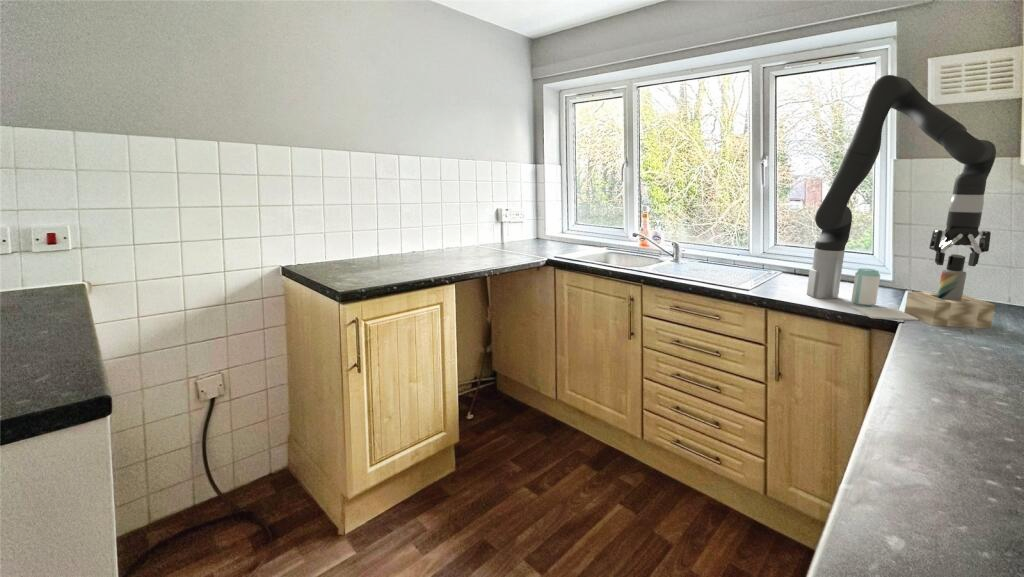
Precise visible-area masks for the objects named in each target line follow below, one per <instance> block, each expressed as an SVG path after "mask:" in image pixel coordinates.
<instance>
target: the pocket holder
mask: <svg viewBox="0 0 1024 577" xmlns="http://www.w3.org/2000/svg"><path fill="white" fill-rule="evenodd" d="M937 295H938V292H929V291H907V295H906V301H905V308H904V311H903V312H904V313H907V314H909V315H911V316H913V317H915V318H918V319H919V320H920V321H921V322H924V323H926V324H929V325H931V326H936V327H937V326H938V327H939V326H941V327H957V328H959V327H960V328H976V329H978V328H979V329H991V327H992V323H993V318H994V314H995V310H996V304H994V303H991V302H987V301H984V300H982V299H979V298H976V297H973V296H970V295H966V294H963V295H962V300H961V301H958V300H942V299H939V298H937Z"/></svg>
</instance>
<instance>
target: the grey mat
mask: <svg viewBox="0 0 1024 577" xmlns="http://www.w3.org/2000/svg"><path fill="white" fill-rule="evenodd" d="M852 309H853V310H855V311H857V312H859V313H860V314H863V315H864V316H867V317H868V318H870V319H876V320H877V319H879V320H895V319H900V320H901V321H919V319H918V318H915V317H913V316H911V315H909V314H907V313H904V312H905V311H902V310H899V309H897V308H886V307H885V308H884V307H868V306H852ZM885 318H886V319H885ZM900 320H899V321H900Z"/></svg>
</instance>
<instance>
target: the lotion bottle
mask: <svg viewBox="0 0 1024 577" xmlns="http://www.w3.org/2000/svg"><path fill="white" fill-rule="evenodd" d="M965 262H966V256H965V255H962V254H953V253H952V254H950V255H948V259H947V263H946V269H943V270H942V271H941V274H940V278H939V285H938V291H937V293H938V295H937V298H939V299H942V300H958V301H961V300H962V295H963V293H964V289H965V285H966V284H965V283H966V280H967V279H966V278H967V271H964V266H965Z"/></svg>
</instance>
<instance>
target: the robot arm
mask: <svg viewBox="0 0 1024 577" xmlns="http://www.w3.org/2000/svg"><path fill="white" fill-rule="evenodd" d="M865 101H866V102H865V104H864V107H863V110H862V113H861V117H860V119H859V121H858V124H857V125H856V128H855V130H854V132H853V135H852V136H851V140H850V141H849V144H848V146H847V148H846V150H845V152H844V155H843V157H842V160H841V161H840V163H839V167H838V169H837V171H836V174H835V176H834V178H833V180H832V183H831V185H830V188H829V189H828V191H827V193H826V195H825V196H824V199H823V200H822V202H821V203H820V205H819V207H818V208H817V211H816V213H815V218H814V222H815V225H816V226H817V227H818V228H819V229H820V230H821V232H820V236H819V238H818V239H817V240H816V241H815V244H814V251H813V252H814V253H813V260H812V265H811V266H812V267H811V268H810V269H809V273H808V281H807V289H806V295H808V296H810V297H811V298H819V299H827V300H834V299H838V298H839V293H840V284H841V277H842V272H843V271H842V270H843V264H844V256H845V251H846V246H847V244H848V242H849V239H850V235H851V234H850V233H851V227H852V222H853V213H852V210H851V208H850V207H849V206H848V204H849V201H850V199H851V197H852V195H853V194H854V192H855V191H856V190H857V188H858V187H860V186H861V184H862V182H863V181H864V180H865V179H866V177H867V176H868V175H869V173H870V172H871V171H872V169H873V167H874V164H875V162H876V160H877V158H878V156H879V153H880V150H881V146H882V137H883V136H882V135H883V134H882V132H883V127H884V124H885V121H886V118H887V116H888V114H889V112H890V110H891V109H894V110H896V111H898V112H900V113H902V114H904V115H906V116H907V117H908V118H909V119H911V120H912V121H913V122H914V123H915V124H916V125H917V127H918V128H919V129H920V130H921V131H922V133H924V134H925V135H927V136H928V137H929V138H930V139H932V140H933V141H935V142H936V143H937V144H939V145H940V146H942V147H943V148H944V150H945V151H946V152H947V153H948V154H949V156H951V157H952V158H953V159H954V160H956V161H957V162H959V163H960V164H962V165H963V168H962V172H961V173H960V174H959V175H957V176H956V178H955V179H954V183H953V190H952V195H951V198H950V202H949V207H948V212H947V213H948V214H947V218H946V224H945V225H946V227H945V230H942V229H941V230H940V229H933V231H932V235H931V239H930V242H929V249H930V250H932V251H933V252H935V258H934V263H935V264H936V265H937V266H943V265H944V261H945V256H946V251H947V250H948V249H950V248H952V247H953V246H966V247H967V248H968V249H969V250H970V253H969V257H968V258H969V259H968V264H967V265H968V266H969V267H976V265H978V264H979V258H980V255H981V254H982V253H985V252H986V253H987V252H989V250H990V243H991V234H992V232H991V231H988V230H979V228H980V226H981V220H982V215H983V209H984V204H985V191H986V186H987V179H988V178H989V175H990V173H991V171H992V168H993V165H994V163H995V160H996V155H997V149H996V146H995V144H994V143H993V142H991V141H990V140H986V139H979V138H977V137H975V136H973V135H972V134H971V133H969V131H968V129H967V127H966V126H964V125H963V124H962V123H961V122H959V121H958V120H957V119H955V118H954V117H952V116H951V115H950V114H947V113H946V112H945V111H943V110H941V109H940V108H938V107H937V106H935V105H934V104H933V103H931V102H930V101H929V100H928V99H927V98H926V97H924V96H923V94H921V93H920V91H918V89H917V88H916V87H915V86H914V85H913V84H912V83H911V82H910V80H908V79H907V78H904V77H900V76H897V75H894V74H886V75H883V76H881V77H880V78H877V80H875V82H874V83H873V84H872V86H871V88H870V89H869V92H868V94H867V98H866V100H865ZM943 237H945V239H944V240H942V238H943ZM977 238H979V239H978V240H979V242H977V240H976V239H977ZM941 240H942V241H941Z"/></svg>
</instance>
